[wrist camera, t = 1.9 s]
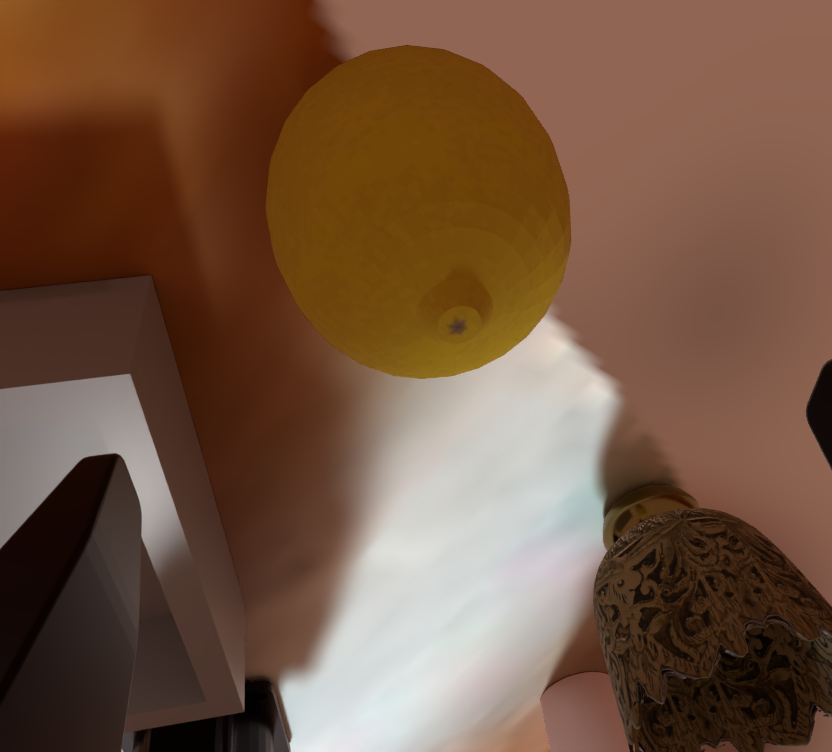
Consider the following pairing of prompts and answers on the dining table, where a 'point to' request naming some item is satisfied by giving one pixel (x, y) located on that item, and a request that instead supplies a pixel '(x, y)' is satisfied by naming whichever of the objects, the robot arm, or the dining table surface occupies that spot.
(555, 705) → the smoothie
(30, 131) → the dining table surface
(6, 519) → the bin
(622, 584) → the cup
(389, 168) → the lemon
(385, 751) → the dining table surface
